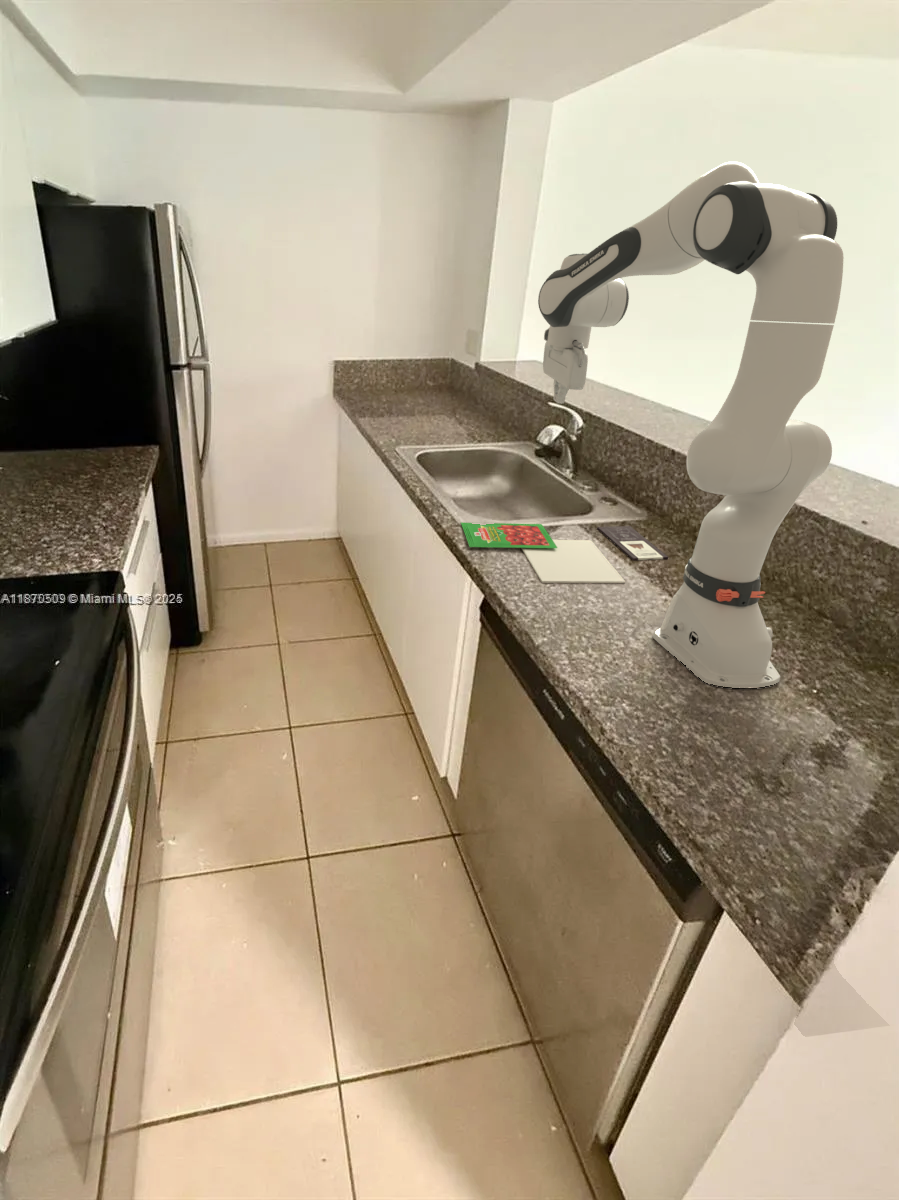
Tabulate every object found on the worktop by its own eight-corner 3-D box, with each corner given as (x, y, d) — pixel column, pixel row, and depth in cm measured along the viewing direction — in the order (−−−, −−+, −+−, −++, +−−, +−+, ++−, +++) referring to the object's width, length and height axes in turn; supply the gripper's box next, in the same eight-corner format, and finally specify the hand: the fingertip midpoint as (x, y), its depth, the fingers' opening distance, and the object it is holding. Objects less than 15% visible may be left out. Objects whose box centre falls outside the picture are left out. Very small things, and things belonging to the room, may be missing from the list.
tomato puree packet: (557, 545, 145) (469, 544, 143) (557, 550, 146) (469, 549, 143) (541, 522, 159) (460, 520, 156) (541, 526, 159) (460, 524, 157)
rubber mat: (624, 583, 135) (625, 581, 135) (541, 582, 132) (542, 581, 132) (590, 541, 153) (590, 540, 153) (516, 540, 150) (517, 539, 150)
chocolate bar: (629, 526, 163) (668, 556, 148) (629, 529, 163) (667, 560, 148) (597, 526, 161) (633, 558, 146) (596, 530, 161) (632, 562, 146)
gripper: (599, 345, 133) (587, 413, 140) (568, 332, 151) (558, 393, 158) (570, 343, 132) (559, 412, 139) (542, 330, 150) (533, 392, 156)
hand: (558, 402), depth 148 cm, fingers closed
